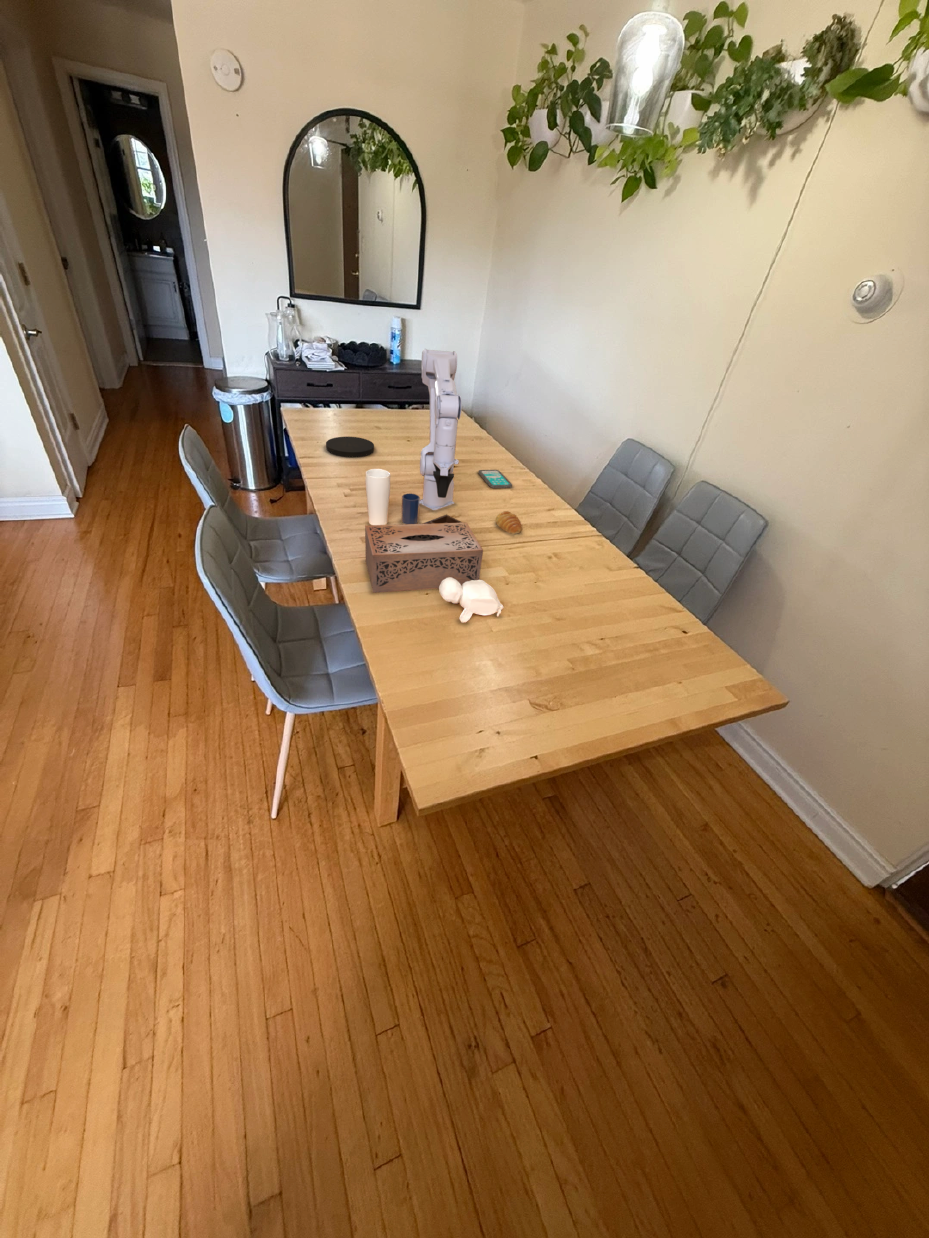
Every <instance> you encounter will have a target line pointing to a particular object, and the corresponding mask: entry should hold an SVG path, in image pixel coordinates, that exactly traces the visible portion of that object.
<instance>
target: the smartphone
mask: <svg viewBox="0 0 929 1238" xmlns="http://www.w3.org/2000/svg"><path fill="white" fill-rule="evenodd" d="M478 475H479V476H480V477H481V478H482V479H483V480H484V482H485V483H486V484H487V486H489V488H492V489H506V488H507V489H509V488H512V487H513V483H512V482H511V481H510V480H509V479H508V478H507V477H506V476H505V475H504V474H503V473H502V472H501V471H500V470H499V469H478Z"/></svg>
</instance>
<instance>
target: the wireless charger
mask: <svg viewBox="0 0 929 1238" xmlns="http://www.w3.org/2000/svg"><path fill="white" fill-rule="evenodd" d="M325 449H326V452H328V453H329V454H331V455H333V456H336V457H341V458H348V459H349V458H350V459H351V458H353V459H354V458H363V457H369V456H370V455H372V454H374V452H375V444H374V442H372V441H371V440H369V439H367V438H364V437H358V436H337V437H332V438H330V439H328V440H327V441H326V442H325Z"/></svg>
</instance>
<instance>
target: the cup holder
mask: <svg viewBox="0 0 929 1238" xmlns="http://www.w3.org/2000/svg"><path fill="white" fill-rule="evenodd" d="M433 523H464V522H463V521H462V520H461V521H460V520H459V519H457V518H455V517H453V516H451V515H449V514H444V515H442V516H439V517H436V518H433V519H431V520H427V521H425V522H423V523H421V524H433Z"/></svg>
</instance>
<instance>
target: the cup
mask: <svg viewBox="0 0 929 1238" xmlns="http://www.w3.org/2000/svg"><path fill="white" fill-rule="evenodd" d="M420 500H421V497H420V495H418V494H416V493H412V492H411V493H410V492H409V493H404V494H403V495H401V514H400V515H401V516H400V517H401V518H400V521H401V523H402V524H419V522H420V521H419V520H420Z"/></svg>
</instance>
